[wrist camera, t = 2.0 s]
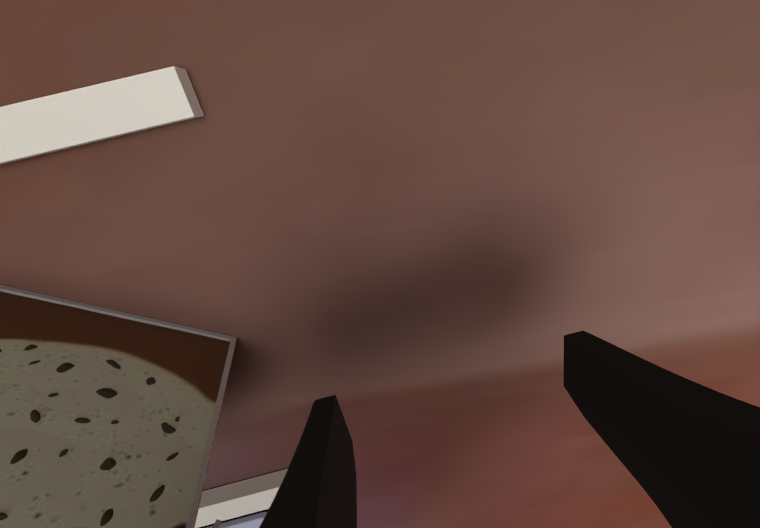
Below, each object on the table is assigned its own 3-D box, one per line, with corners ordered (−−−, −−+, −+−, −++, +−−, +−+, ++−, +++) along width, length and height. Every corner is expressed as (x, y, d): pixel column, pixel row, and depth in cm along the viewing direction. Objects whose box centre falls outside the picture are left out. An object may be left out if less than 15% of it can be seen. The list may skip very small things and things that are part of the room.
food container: (-41, 392, 16) (-542, 772, 7) (-48, 273, 14) (-783, 591, 5) (240, 435, 19) (156, 737, 10) (269, 344, 17) (195, 618, 8)
